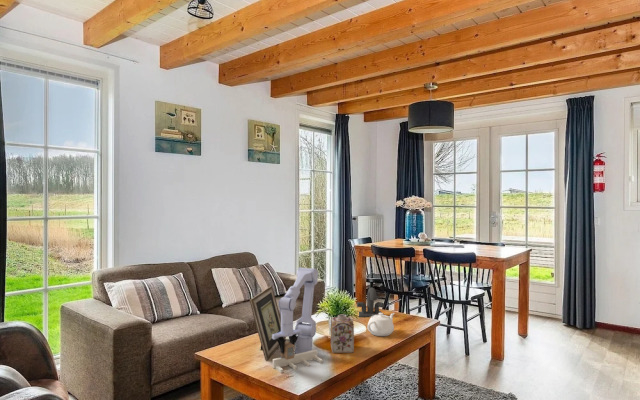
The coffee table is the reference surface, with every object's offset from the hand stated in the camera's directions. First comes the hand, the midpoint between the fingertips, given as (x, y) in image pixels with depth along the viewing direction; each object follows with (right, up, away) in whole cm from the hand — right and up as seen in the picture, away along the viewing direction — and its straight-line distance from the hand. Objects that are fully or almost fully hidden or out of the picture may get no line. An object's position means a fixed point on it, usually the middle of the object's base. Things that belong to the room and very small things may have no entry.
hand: (286, 351), depth 200 cm
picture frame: (-12, -8, +27) cm, 31 cm away
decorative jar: (+27, -8, +27) cm, 39 cm away
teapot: (+52, -8, +53) cm, 75 cm away
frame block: (0, -2, 0) cm, 2 cm away
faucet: (+50, -8, +87) cm, 101 cm away
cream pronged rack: (+5, -8, +5) cm, 11 cm away
